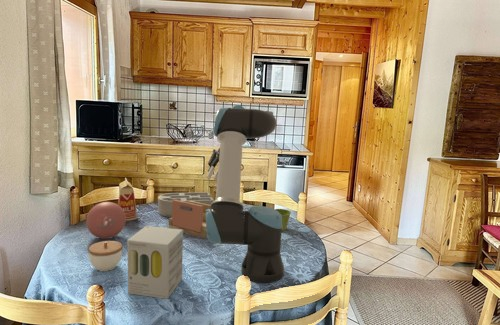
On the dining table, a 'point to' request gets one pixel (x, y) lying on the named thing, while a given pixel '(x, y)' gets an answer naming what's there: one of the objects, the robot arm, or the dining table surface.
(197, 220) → the panel
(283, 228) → the plant pot
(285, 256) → the dining table surface
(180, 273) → the supplement box
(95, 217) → the balloon
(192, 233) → the tray
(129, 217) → the milk carton
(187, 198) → the grey compartment organizer
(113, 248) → the lidded jar
